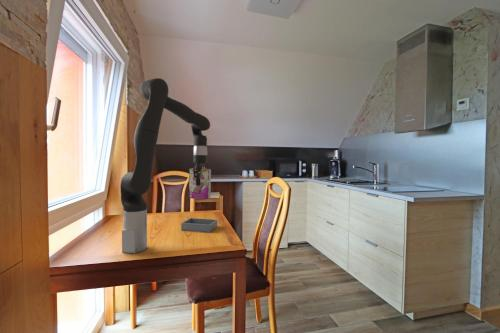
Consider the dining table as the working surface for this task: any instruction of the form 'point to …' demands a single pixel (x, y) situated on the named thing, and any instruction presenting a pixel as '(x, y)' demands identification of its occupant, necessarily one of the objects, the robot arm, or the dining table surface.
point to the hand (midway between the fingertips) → (200, 184)
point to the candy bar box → (205, 185)
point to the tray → (199, 225)
